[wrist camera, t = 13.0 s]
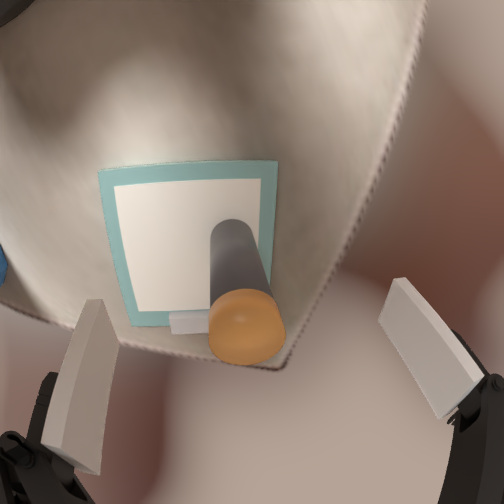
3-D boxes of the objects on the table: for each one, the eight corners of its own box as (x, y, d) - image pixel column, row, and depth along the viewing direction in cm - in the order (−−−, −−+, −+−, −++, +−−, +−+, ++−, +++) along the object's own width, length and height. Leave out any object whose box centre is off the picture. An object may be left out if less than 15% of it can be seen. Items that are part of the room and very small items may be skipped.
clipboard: (101, 169, 22) (93, 175, 20) (275, 160, 24) (281, 164, 22) (133, 321, 31) (130, 334, 29) (265, 316, 33) (268, 328, 31)
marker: (208, 219, 25) (205, 314, 13) (254, 217, 25) (289, 308, 14) (210, 260, 27) (212, 367, 15) (253, 257, 27) (282, 361, 16)
